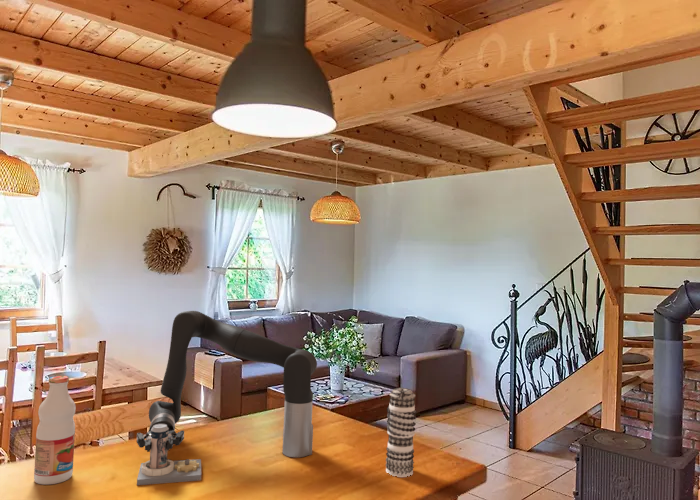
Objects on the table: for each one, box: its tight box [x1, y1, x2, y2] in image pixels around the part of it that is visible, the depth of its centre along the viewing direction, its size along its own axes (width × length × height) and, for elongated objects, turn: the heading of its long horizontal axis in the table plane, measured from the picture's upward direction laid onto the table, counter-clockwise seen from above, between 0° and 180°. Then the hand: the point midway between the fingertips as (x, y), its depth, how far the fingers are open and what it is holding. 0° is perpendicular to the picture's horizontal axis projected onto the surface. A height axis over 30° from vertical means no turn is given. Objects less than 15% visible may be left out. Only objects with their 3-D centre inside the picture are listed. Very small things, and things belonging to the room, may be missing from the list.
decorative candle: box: [385, 387, 418, 478], centre depth 160 cm, size 9×9×25 cm
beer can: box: [149, 424, 169, 469], centre depth 150 cm, size 5×5×12 cm
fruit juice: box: [33, 375, 76, 486], centre depth 145 cm, size 9×9×28 cm
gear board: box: [136, 458, 202, 486], centre depth 151 cm, size 17×12×4 cm
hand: (158, 447), depth 147 cm, fingers closed on beer can, 4 cm apart
